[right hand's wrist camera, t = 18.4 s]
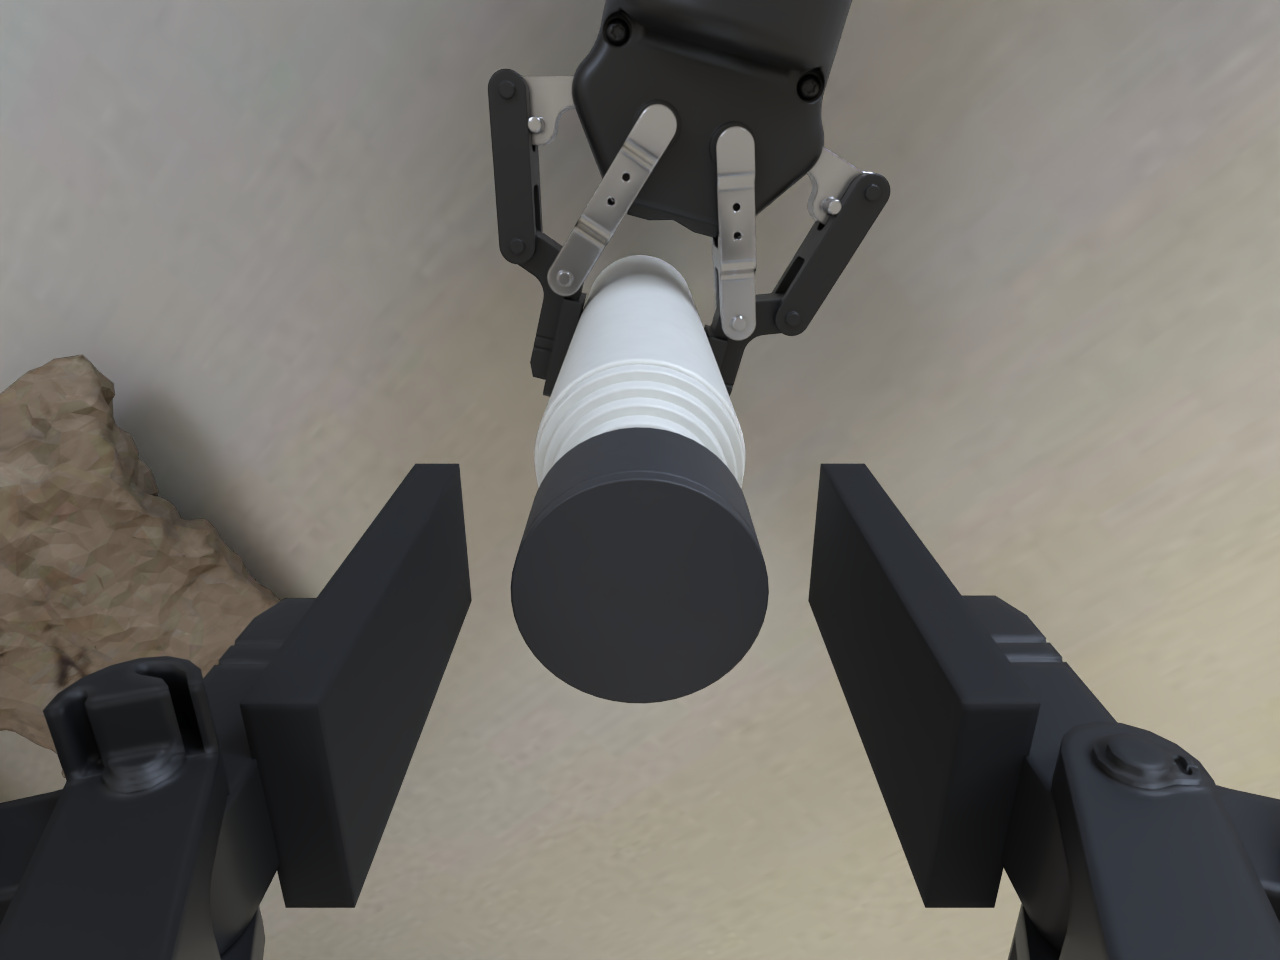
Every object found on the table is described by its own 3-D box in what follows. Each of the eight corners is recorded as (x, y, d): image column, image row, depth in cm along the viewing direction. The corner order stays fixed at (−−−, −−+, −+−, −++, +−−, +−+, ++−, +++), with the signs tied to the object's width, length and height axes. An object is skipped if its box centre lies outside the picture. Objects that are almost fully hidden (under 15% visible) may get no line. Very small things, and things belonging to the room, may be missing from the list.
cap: (790, 487, 14) (818, 549, 12) (682, 654, 15) (689, 738, 13) (590, 387, 13) (580, 432, 11) (495, 570, 15) (469, 644, 12)
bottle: (614, 376, 37) (571, 737, 14) (569, 281, 35) (438, 514, 12) (708, 335, 36) (827, 645, 13) (667, 236, 34) (721, 393, 11)
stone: (-206, 499, 35) (-311, 567, 30) (94, 330, 36) (43, 368, 30) (143, 778, 45) (110, 865, 40) (371, 643, 46) (369, 712, 41)
